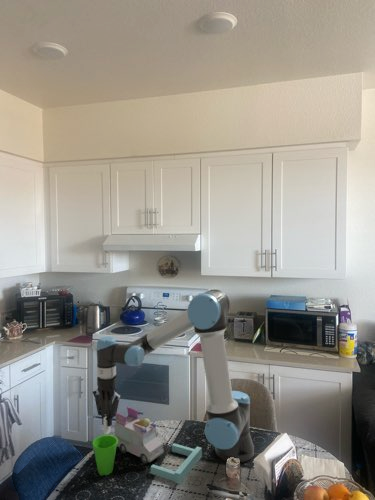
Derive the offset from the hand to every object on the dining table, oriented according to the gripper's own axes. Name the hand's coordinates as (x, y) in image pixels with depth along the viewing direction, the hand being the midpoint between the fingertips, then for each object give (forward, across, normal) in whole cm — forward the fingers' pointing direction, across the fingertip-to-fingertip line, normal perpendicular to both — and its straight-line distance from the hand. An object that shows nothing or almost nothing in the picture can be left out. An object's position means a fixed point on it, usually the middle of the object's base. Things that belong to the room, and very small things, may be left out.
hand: (107, 433), depth 153 cm
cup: (+5, +11, -15) cm, 19 cm away
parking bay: (+4, +32, 0) cm, 33 cm away
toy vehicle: (+5, +15, 0) cm, 16 cm away
